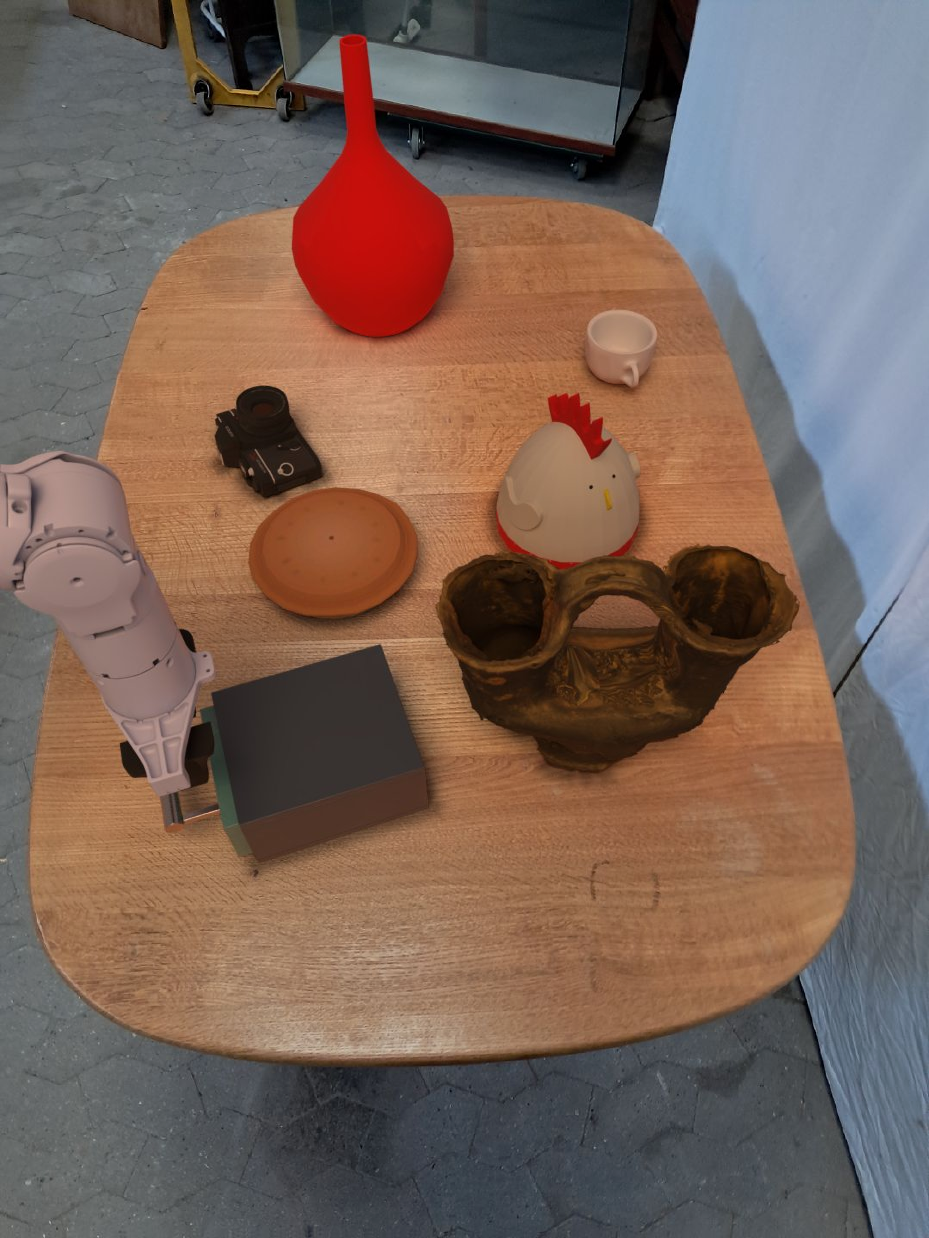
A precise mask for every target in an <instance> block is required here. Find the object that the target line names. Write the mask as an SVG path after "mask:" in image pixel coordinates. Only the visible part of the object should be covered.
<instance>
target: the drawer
mask: <svg viewBox="0 0 929 1238" xmlns="http://www.w3.org/2000/svg"><path fill="white" fill-rule="evenodd" d="M199 714H200V720H201V724H202V723H206V722H209V721H210V722H211V726H212V731H213V736H214V741H215V746H214V753H213V755H211V756H210V757H209V758H208V760H209V764H210V769H211V773H212V779H213V785H214V789H215V794H216V800H217V803H214V804H211V805H208V806H205V807H202V808H201V807H200V808H199V809H195V810H191V811H188V812H185V813H183V809H182V802H181V798H180V791H178V792H174V793H171V794H167V795H163V796H160V797H159V804H160V808H161V817H162V821H163V828H164V831H165V833H168V834H174V833H175V834H176V833H179V832H181V831H182V830H184V829H185V825H187V824H191V823H194V822H197V821H200V820H203V819H206V818H210V817H213V816H217V815H220V819H221V825H222V829H223V831H224V833H225V834H226V836H227V838H228V840H229V842H230V843H231V845H232V847H233V849H234V850H235V853H236V854H237V856H238V858H240V857H244V856H247V855H250V854H253V852H252V850H251V848H250V846H249V844H248V842H247V840H246V838H245V837H244V835H243V833H242V831H241V829H240V827H239V824H238V819H237V814H236V810H235V805H234V800H233V795H232V791H231V786H230V781H229V776H228V772H227V767H226V762H225V757H224V753H223V748H222V743H221V738H220V734H219V729H218V724H217V719H216V714H215V710H214V705H210V706H207V707H204V708H200V709H199Z"/></svg>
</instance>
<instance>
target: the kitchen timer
mask: <svg viewBox="0 0 929 1238" xmlns="http://www.w3.org/2000/svg"><path fill="white" fill-rule="evenodd" d="M580 395H581V394H580V392H578V393H577V392H576V393H575V394H572V395H571V396H569V394H568V392H565V393H563V394H560V395H558V394H557V393H555V394H553V395H550V396H548V397H547V404H548V405H547V406H548V410H549V415H550V419H551V421H550V422H548V423H546V424H543V425H542V426H541V427H539V428H538V429H536V430H535V431H533V433H532V434H531V435H530V436H529V437H527V438H526V439H525V440H524V441H523V443H522V444H521V445H520V447H519V448H518V450H517V451H516V453H515V455H514V456H513V457H512V459H511V461H510V463H509V465H508V467H507V469H506V471H505V474H504V475H503V478H502V480H501V483H500V486H499V491H498V495H497V502H496V505H495V519H496V520H495V521H496V526H497V531H498V534H499V537H500V538H501V539H502V541H503V543H504V544H505V546H506V548H507V549H508V550H510V552H516V553H523V554H528V555H532V556H535V557H538V558H542V559H546V560H547V561H548V563H549V562H550V563H551V564H552V565H554V566H556V567H557V568H559V569H560V570H561V569H567V568H571V567H574V566H576V565H577V564H580V563H582V562H584V561H586V560H589V559H592V558H595V557H601V556H604V555H606V556H624V555H625V554H626V553H628V551H629V550H630V549H631V547H632V544H633V542H634V540H635V538H636V536H637V533H638V529H639V528H638V527H639V523H640V510H641V509H640V507H641V498H640V491H639V487H638V486H639V485H638V482H637V479H639V478H641V475H642V474H641V473H642V468H641V464H640V461H639V458H638V456H637V455H636V453H635V452H634V451H630V452H627V450H626V449H625V448H624V446H622V444H621V443H620V442H619V440H618V439H617V438H616V436H615V435H614V434H613V432H611V431H610V430H608V429H607V428H606V427H604V426H603V425H604V417H603V416H600V417H599V418H597V419H594V420H592V418H591V413H592V412H591V404H590V402H587V403H585V404H583V405H581V396H580Z"/></svg>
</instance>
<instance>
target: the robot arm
mask: <svg viewBox="0 0 929 1238" xmlns="http://www.w3.org/2000/svg"><path fill="white" fill-rule="evenodd" d="M129 514H130V513H129V509H128V503H127V497H126V494H125V490H124V488H123V485H122V482H121V479H120V478H119V477H118V475H117V474H116V473H115V472H114V470H112V469H111V468H110V467H109V466H108V465H106V464H105V463H104V462H101V461H99V460H97V459H95V458H92V457H90V456H89V457H88V456H86V455H81V454H74V453H71V452H69V451H64V450H54V451H48V452H44V453H39V454H36V455H33V456H31V457H29V458H27V459H26V460H24V461H23V460H22V462H19V463H14V464H7V463H6V464H5V463H0V591H13V595H14V596H15V598H16V599H17V600H18V601H19V602H21V603H22V604H23V605H25V606H26V607H28V608H30V609H32V610H33V611H36V612H38V613H41V614H45V615H48V616H51V617H52V619H53V620H54V622H55V623H56V625H57V626H58V629H60V631H61V633H62V634H63V637H65V639H66V641H67V642H68V643H69V646H70V647H71V649H72V650H73V652H74V653H75V655H76V656H77V657H78V659H79V661H80V663H81V664H82V667H83V668H84V669H85V671H86V672H87V674H88V676H89V677H90V679H91V680H92V682H93V684H94V685H95V687H96V688H97V690H98V691H99V695H100V699H101V701H102V704H103V706H104V707H105V709H106V711H107V712H108V714H109V715H110V717H111V719H112V720H113V721H114V722H115V724H116V725H117V727H118V729H119V730H120V732H121V733H122V734H123V736H124V737H125V739H126V740H125V741H122V742H119V750H120V751H119V752H120V758H121V764H122V767H123V769H124V770H125V772H126V773H127V774H128V775H129V776H130V777H131V778H132V779H141V778H142V779H147V782H148V785H149V786H150V787H151V789H152V790H153V792H154V793H155V795H156V797H157V798H160V796H163V795H167V794H171V793H174V792H178V791H179V792H182V791H185V790H189V789H192V788H196V787H199V786H202V785H206V784H208V783H209V779H210V771H209V770H210V769H209V765H208V762H209V761H208V760H209V757H210V756H211V755H213V753H214V746H215V741H214V736H213V731H212V726H211V722H210V721H209V722H206V723H202V722H201V723H198V724H196V725H192V724H193V719H194V718H195V719H196V717H197V702H198V698H199V694H200V689H201V687H202V686H203V685H205V684H208V683H210V682H213V681H214V680H215V679H216V678H217V667H216V664H215V660H214V657H213V655H212V653H211V652H210V651H208V650H202V651H197V649H196V644H195V638H194V637H193V634H192V633H191V632H190V631H189V630H187V629H185V628H179V627H178V624H177V622H176V620H175V618H174V616H173V613H172V612H171V611H172V610H171V609H170V607H169V605H168V602H167V600H166V597H165V596H164V594H163V591H162V589H161V587H160V585H159V582H158V580H157V577H156V575H155V574H154V572H153V569H152V568H151V567H150V565H149V564H148V562H147V560H146V558H145V555H144V554H143V552H142V550H140V547H139V545H138V543H137V541H136V539H135V536H134V535H133V531H132V526H131V520H130V515H129Z"/></svg>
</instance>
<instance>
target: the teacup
mask: <svg viewBox="0 0 929 1238" xmlns="http://www.w3.org/2000/svg"><path fill="white" fill-rule="evenodd" d="M584 342H585V343H584V345H585V346H584V353H585V360H586V363H587V366H588V368H589V369H590V371H591V373H592V374H593V375H594V376H595V377H596V378H597V379H598V380H601V381H603V382H605V383H608V384H613V385H624V384H625V385H626V386H628V387H629V388H632V389H633V388H636V387H637V386H638V385H639V381H640V378H641V377H643V375H644V374H645V372H647V370H648V368H649V367H650V365H651V363H652V360H653V358H654V355H655V352H656V348H657V345H658V344H657V343H658V331H657V328H656V326H655V324H654V323H653V322H652V321H651V320H650V319H649V318H648V317H646V316H645V315H643V314H641V313H639V312H636V311H632V310H627V309H609V310H605V311H602V312H600V313H598V314H596V315H595V316H593V317H592V318H591V319H590V321H589V322H588V324H587V327H586V332H585V341H584Z"/></svg>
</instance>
